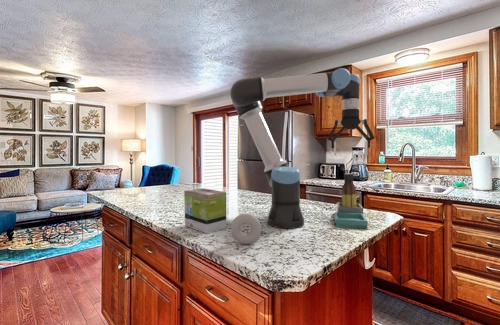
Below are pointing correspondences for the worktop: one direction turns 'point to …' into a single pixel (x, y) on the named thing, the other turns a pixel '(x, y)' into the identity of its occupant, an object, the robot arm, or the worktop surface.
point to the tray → (350, 220)
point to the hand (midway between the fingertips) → (350, 155)
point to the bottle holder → (350, 209)
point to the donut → (242, 236)
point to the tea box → (205, 210)
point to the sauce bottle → (348, 191)
